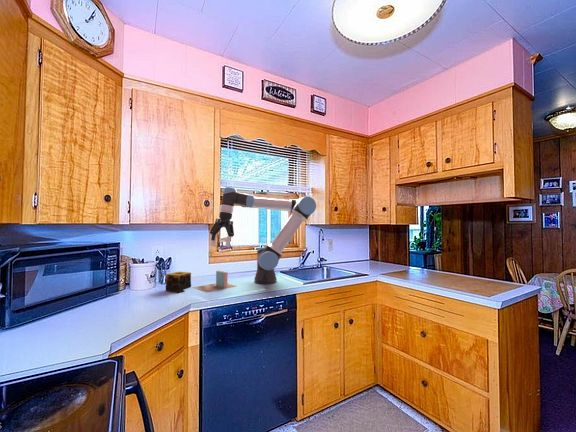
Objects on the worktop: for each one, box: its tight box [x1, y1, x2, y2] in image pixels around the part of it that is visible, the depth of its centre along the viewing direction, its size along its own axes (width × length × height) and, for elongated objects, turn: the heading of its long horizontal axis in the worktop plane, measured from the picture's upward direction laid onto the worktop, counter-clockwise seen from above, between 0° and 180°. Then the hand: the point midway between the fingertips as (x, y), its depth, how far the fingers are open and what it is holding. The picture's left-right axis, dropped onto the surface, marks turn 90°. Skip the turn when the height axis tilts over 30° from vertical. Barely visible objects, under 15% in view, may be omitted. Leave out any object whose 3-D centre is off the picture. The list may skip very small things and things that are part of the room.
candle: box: [165, 271, 192, 294], centre depth 154 cm, size 10×10×10 cm
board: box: [191, 282, 237, 294], centre depth 158 cm, size 21×16×1 cm
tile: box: [215, 270, 229, 289], centre depth 159 cm, size 2×9×9 cm, turn 47°
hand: (220, 246), depth 162 cm, fingers open, 13 cm apart
